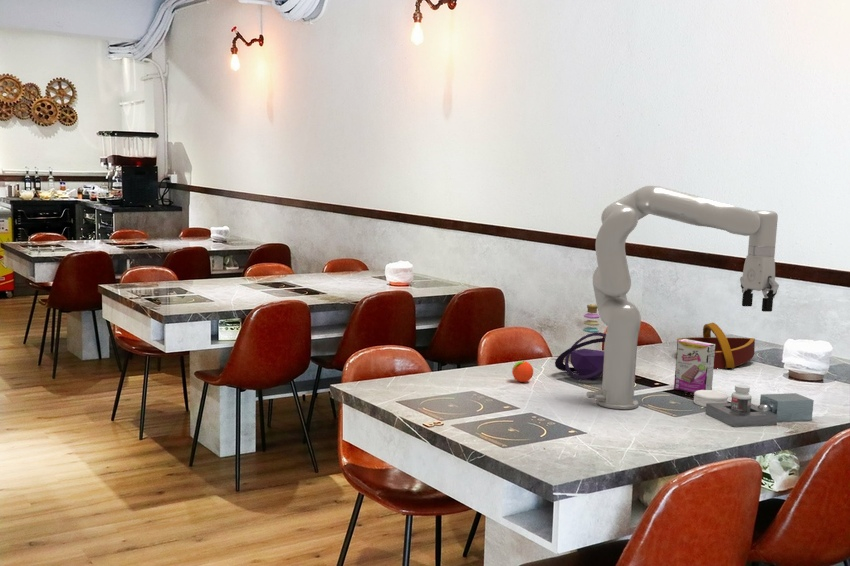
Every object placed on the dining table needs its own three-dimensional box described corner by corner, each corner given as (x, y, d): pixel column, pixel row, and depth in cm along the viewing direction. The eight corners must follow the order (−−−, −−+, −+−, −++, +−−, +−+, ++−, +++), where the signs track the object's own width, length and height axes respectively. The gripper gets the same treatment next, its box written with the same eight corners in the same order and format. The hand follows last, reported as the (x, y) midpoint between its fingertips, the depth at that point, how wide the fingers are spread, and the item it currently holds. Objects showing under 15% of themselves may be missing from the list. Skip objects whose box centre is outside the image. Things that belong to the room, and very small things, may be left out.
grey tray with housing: (733, 426, 248) (735, 406, 247) (705, 413, 262) (707, 393, 261) (818, 423, 255) (820, 402, 255) (787, 410, 269) (789, 390, 268)
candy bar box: (673, 389, 290) (676, 340, 288) (680, 387, 294) (683, 338, 292) (705, 396, 283) (709, 345, 281) (712, 393, 286) (716, 343, 284)
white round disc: (686, 401, 276) (687, 390, 275) (712, 399, 280) (713, 388, 279) (708, 409, 267) (709, 398, 266) (734, 407, 270) (735, 396, 270)
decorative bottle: (601, 369, 317) (605, 299, 314) (633, 382, 298) (638, 309, 295) (545, 371, 310) (548, 300, 307) (574, 386, 290) (578, 310, 287)
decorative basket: (672, 355, 358) (669, 319, 356) (747, 349, 354) (744, 312, 352) (684, 375, 325) (680, 335, 323) (767, 369, 320) (764, 328, 319)
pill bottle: (727, 419, 256) (730, 386, 255) (732, 415, 260) (735, 382, 259) (746, 422, 253) (749, 389, 252) (751, 418, 257) (754, 385, 256)
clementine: (520, 385, 288) (521, 364, 287) (505, 381, 293) (506, 360, 292) (537, 382, 293) (538, 361, 292) (521, 378, 298) (522, 357, 297)
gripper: (733, 249, 272) (728, 304, 275) (768, 254, 256) (763, 313, 258) (754, 249, 274) (750, 304, 276) (790, 255, 258) (785, 313, 260)
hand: (756, 308), depth 267 cm, fingers open, 9 cm apart
